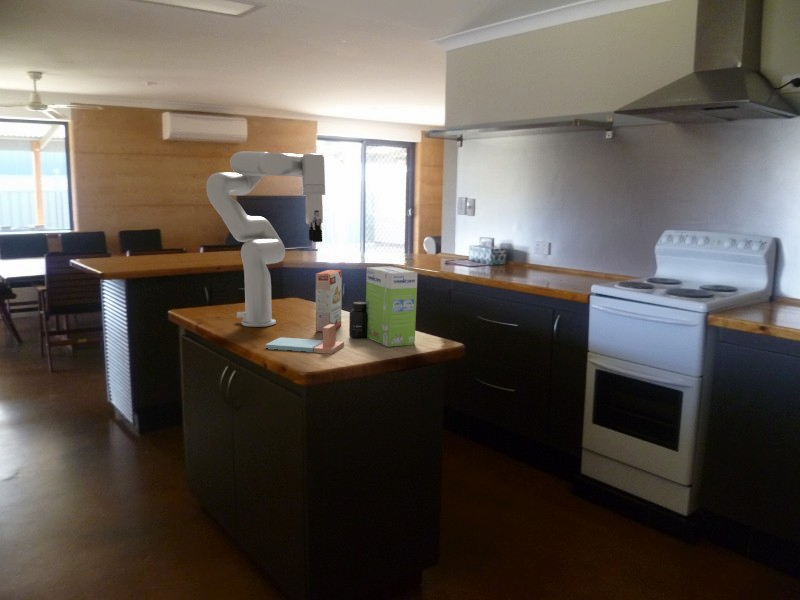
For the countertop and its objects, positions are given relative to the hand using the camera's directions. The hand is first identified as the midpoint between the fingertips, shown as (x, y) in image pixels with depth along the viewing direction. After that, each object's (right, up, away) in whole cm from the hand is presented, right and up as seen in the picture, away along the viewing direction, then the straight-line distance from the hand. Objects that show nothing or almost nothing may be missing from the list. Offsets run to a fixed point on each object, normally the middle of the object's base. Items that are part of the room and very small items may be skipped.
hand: (315, 241), depth 223 cm
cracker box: (+3, -31, +13) cm, 34 cm away
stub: (+7, -36, -18) cm, 41 cm away
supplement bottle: (+15, -33, -1) cm, 36 cm away
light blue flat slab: (-4, -35, -15) cm, 39 cm away
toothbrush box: (+26, -34, -6) cm, 43 cm away
